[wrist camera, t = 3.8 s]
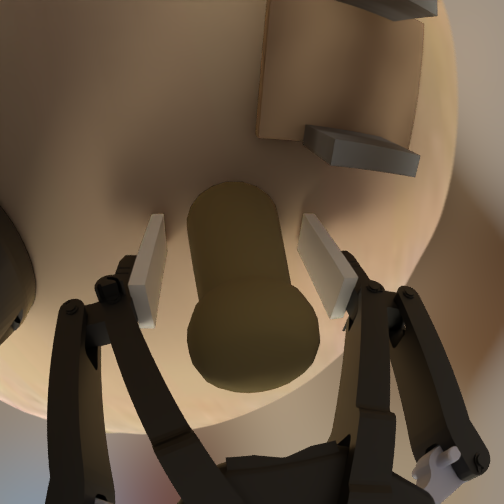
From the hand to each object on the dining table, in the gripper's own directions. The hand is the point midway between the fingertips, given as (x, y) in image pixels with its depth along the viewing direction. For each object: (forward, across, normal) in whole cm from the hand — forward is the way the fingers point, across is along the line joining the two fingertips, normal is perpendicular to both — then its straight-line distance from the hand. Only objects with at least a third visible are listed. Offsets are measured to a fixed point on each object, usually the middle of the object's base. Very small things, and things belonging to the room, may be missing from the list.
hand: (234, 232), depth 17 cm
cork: (+1, 0, 0) cm, 1 cm away
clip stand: (+1, +6, +11) cm, 13 cm away
